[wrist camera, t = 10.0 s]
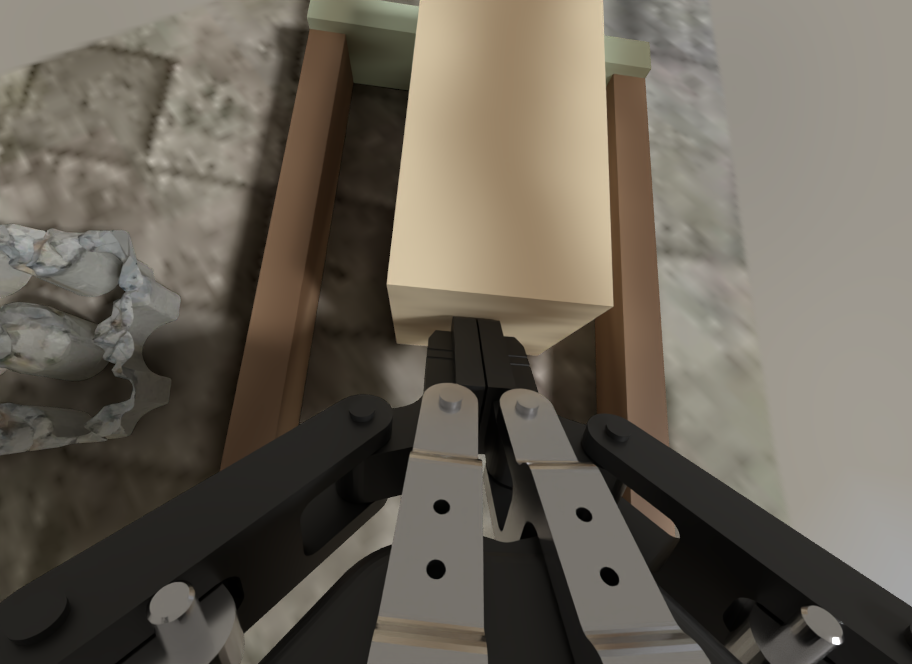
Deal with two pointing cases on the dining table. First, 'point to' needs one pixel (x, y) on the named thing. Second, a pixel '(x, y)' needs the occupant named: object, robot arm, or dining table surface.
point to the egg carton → (78, 332)
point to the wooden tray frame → (311, 207)
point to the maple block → (504, 172)
